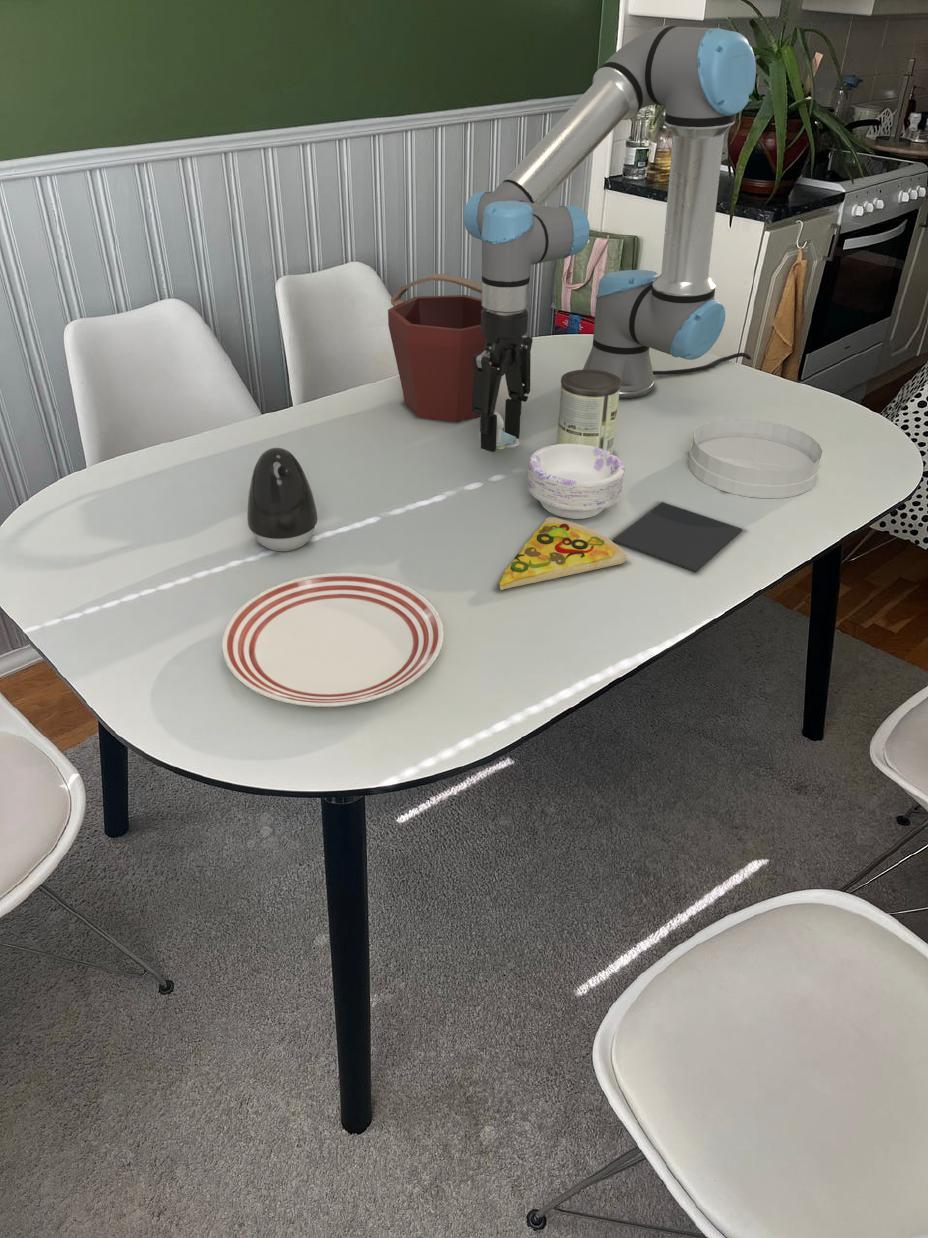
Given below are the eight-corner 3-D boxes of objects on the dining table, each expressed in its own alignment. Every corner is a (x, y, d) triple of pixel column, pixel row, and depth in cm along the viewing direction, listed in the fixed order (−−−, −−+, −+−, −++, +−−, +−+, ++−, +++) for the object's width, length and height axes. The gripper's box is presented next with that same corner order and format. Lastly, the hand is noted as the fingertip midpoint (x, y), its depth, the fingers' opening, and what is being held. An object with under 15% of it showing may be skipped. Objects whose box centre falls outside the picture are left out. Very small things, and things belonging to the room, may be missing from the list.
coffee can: (555, 441, 175) (561, 367, 167) (611, 444, 174) (620, 370, 166) (554, 465, 166) (560, 388, 158) (613, 468, 165) (622, 391, 157)
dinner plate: (450, 717, 110) (450, 695, 108) (210, 727, 107) (206, 704, 106) (437, 590, 132) (437, 569, 130) (238, 595, 130) (235, 575, 128)
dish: (682, 487, 160) (687, 460, 157) (692, 437, 177) (696, 411, 175) (819, 506, 155) (826, 478, 152) (815, 452, 173) (821, 426, 170)
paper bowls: (637, 506, 154) (644, 461, 150) (581, 538, 145) (586, 492, 140) (564, 476, 162) (568, 433, 158) (506, 505, 153) (509, 460, 149)
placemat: (661, 504, 155) (662, 502, 155) (741, 530, 148) (742, 528, 148) (612, 541, 144) (612, 539, 144) (695, 572, 137) (696, 570, 137)
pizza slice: (632, 559, 140) (635, 542, 138) (539, 613, 128) (541, 594, 126) (553, 522, 149) (555, 505, 147) (460, 569, 137) (460, 551, 135)
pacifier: (497, 433, 167) (473, 442, 164) (499, 399, 164) (474, 407, 160) (527, 446, 163) (503, 455, 159) (530, 412, 159) (505, 420, 156)
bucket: (530, 407, 188) (538, 278, 174) (457, 440, 174) (460, 303, 160) (438, 376, 201) (439, 254, 187) (364, 405, 187) (359, 275, 173)
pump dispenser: (263, 566, 136) (251, 470, 128) (242, 534, 144) (230, 442, 135) (329, 551, 140) (322, 457, 132) (305, 520, 148) (297, 430, 139)
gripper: (519, 290, 158) (514, 419, 171) (448, 318, 145) (448, 455, 159) (557, 298, 154) (549, 430, 167) (487, 328, 141) (484, 468, 155)
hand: (500, 442), depth 163 cm, fingers closed on pacifier, 6 cm apart
